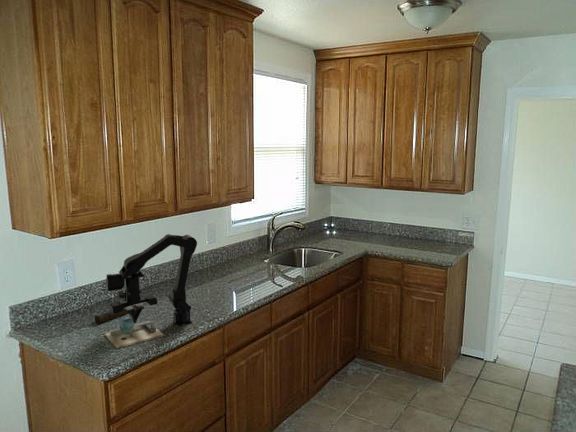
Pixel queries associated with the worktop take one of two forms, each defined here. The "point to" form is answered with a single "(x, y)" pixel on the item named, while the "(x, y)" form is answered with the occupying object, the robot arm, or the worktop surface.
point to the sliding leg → (127, 325)
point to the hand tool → (108, 316)
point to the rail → (136, 327)
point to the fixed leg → (150, 327)
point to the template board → (133, 337)
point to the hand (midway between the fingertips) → (134, 323)
